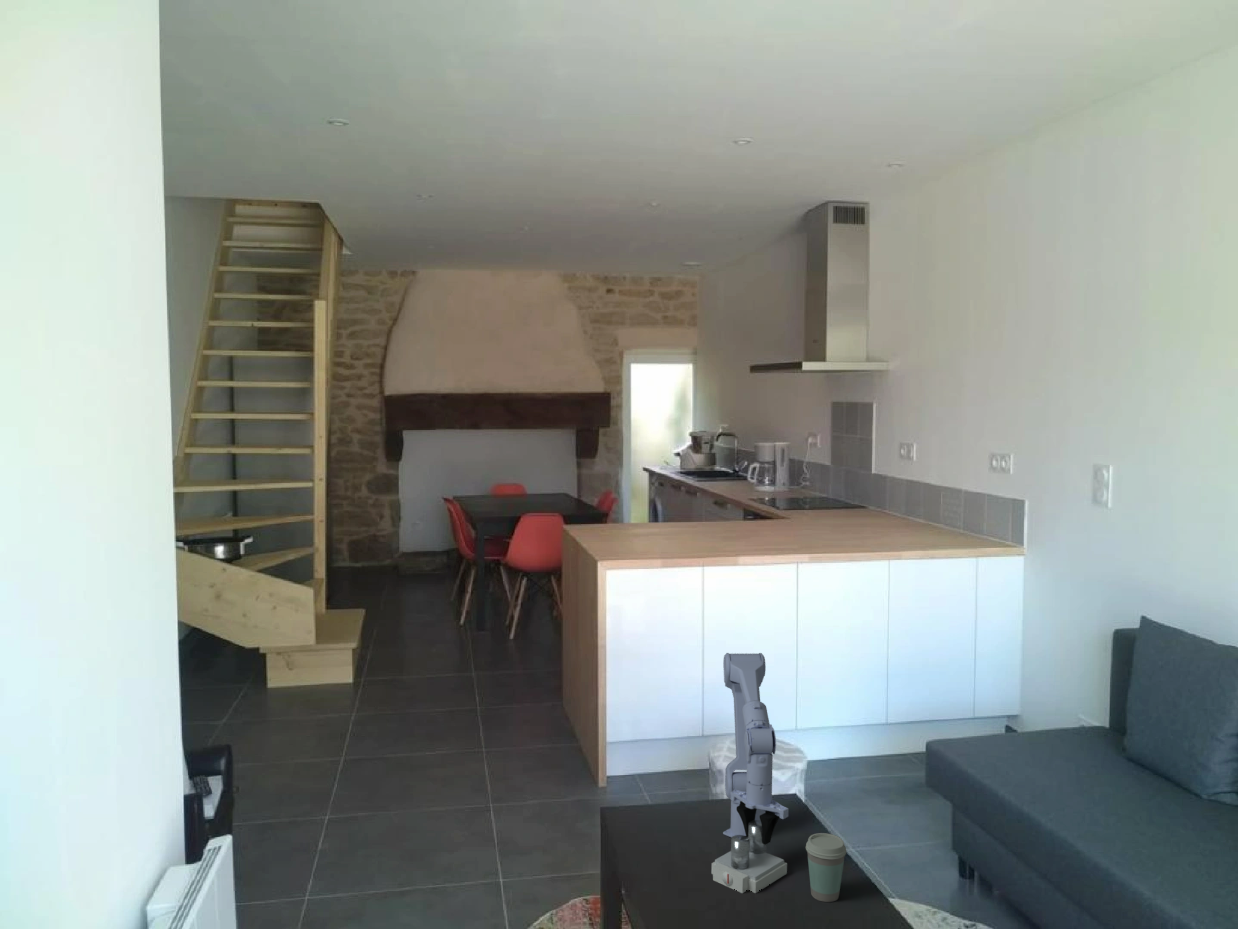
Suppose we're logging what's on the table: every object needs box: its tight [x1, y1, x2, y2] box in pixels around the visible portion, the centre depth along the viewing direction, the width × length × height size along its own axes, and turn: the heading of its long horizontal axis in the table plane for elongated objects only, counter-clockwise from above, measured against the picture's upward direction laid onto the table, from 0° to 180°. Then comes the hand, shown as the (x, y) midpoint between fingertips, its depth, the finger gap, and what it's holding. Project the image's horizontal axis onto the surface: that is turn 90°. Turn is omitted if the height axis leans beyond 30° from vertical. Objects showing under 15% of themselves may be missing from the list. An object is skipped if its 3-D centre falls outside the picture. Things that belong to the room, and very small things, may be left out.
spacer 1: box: [730, 835, 750, 870], centre depth 206 cm, size 4×4×6 cm
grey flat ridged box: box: [711, 850, 788, 894], centre depth 208 cm, size 14×12×3 cm
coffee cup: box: [805, 832, 847, 903], centre depth 200 cm, size 8×9×12 cm
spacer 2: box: [748, 820, 767, 854], centre depth 211 cm, size 4×4×6 cm
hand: (758, 839), depth 211 cm, fingers closed on spacer 2, 4 cm apart
